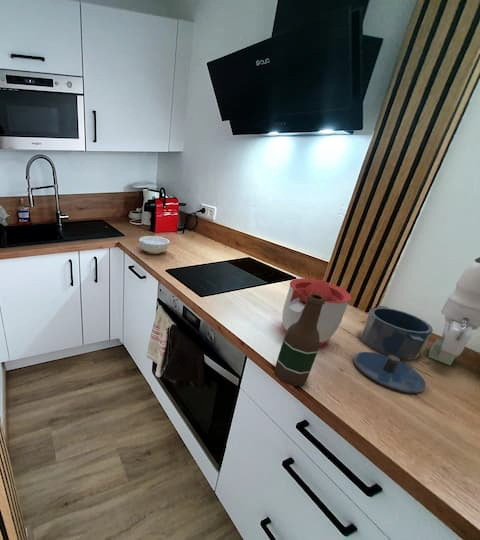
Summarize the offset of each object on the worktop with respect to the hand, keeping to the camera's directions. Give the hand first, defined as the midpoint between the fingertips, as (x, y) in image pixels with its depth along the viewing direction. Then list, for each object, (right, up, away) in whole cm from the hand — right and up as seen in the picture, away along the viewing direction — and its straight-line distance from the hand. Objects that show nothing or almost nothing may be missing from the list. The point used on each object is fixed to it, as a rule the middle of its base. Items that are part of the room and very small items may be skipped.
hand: (442, 353), depth 83 cm
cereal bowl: (-75, +35, +79) cm, 114 cm away
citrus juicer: (-36, +3, +8) cm, 37 cm away
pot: (-11, +1, +5) cm, 12 cm away
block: (0, -1, +1) cm, 2 cm away
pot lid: (-22, -3, -6) cm, 23 cm away
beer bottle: (-50, -4, -8) cm, 51 cm away
